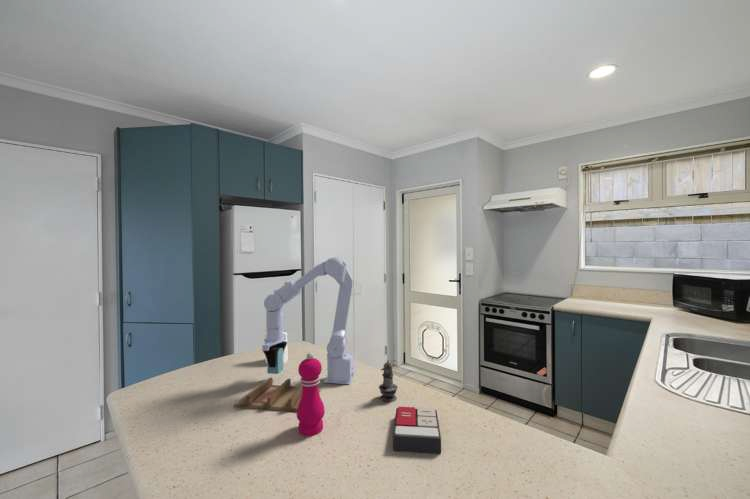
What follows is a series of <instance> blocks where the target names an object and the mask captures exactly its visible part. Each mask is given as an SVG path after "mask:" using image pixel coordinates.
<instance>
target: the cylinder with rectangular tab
mask: <svg viewBox="0 0 750 499" xmlns="http://www.w3.org/2000/svg"><path fill="white" fill-rule="evenodd" d="M283 334H286V340H284V341H285V342H287V343H288V332H285V331H283ZM264 336H265V337H264V339H266V338H267V332H265V335H264ZM288 352H289V351H288V344H287V345H286V347H285V349H284V353H283V364H286V363H287V362H288V360H289V359H288V356H289V354H288ZM264 355H265V354H264ZM264 362H265V364H266V365H267V358H266V355H265V360H264Z"/></svg>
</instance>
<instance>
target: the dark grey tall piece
mask: <svg viewBox="0 0 750 499" xmlns="http://www.w3.org/2000/svg"><path fill="white" fill-rule="evenodd" d="M394 376H395V374H394V373H393V365H392V363H391V362H390V361H389V360H387V361H386V362H385V363H384V364H383V373H382V377H383V381H382V383H381V384H379V386H378V389H379V391H380V394H381V395H380V397H379V399H380V401H382V402H383V403H384V402H385V403H394V402H395V401H397V398H398V397H397V396H396V395H395V394H396V393H397V390H398V387H399V386H398V385H397V384H395V383H394V380H393V379H394Z"/></svg>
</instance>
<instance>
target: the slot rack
mask: <svg viewBox="0 0 750 499" xmlns="http://www.w3.org/2000/svg"><path fill="white" fill-rule="evenodd" d="M291 384H292V383H291V378H287V379H286V380H285V381H283V383H282V384H280V385H278V384H277V385H274V384H273V377H269V378H267V379H266V380H265V381H264V382H263V383H261V384H260V383H259V384H258V385H256V386H255V387H254V388H253V389H251V391H249V392H248V393H247V394H245V395H243V397H241V399H239V400H238V401H237V402H235V403H234V407H235V408H241V409H242V408H244V409H257V410H268V411H281V412H282V411H283V412H295V413H297V408H298V405H299V402H300V400H301V397H302V390H303V389H302V385H301V384H300V385H299V386H293V385H291ZM318 391H319V393H320V392H321V387H318Z"/></svg>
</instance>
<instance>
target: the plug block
mask: <svg viewBox="0 0 750 499" xmlns="http://www.w3.org/2000/svg"><path fill="white" fill-rule="evenodd" d="M266 365H267V374H271V375H278V374H280V373H281V372H282V371H283V370H284V363H283V348H280V349H279V351H278V354H277V360H276V367H269V364H268V361H267V364H266Z"/></svg>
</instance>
